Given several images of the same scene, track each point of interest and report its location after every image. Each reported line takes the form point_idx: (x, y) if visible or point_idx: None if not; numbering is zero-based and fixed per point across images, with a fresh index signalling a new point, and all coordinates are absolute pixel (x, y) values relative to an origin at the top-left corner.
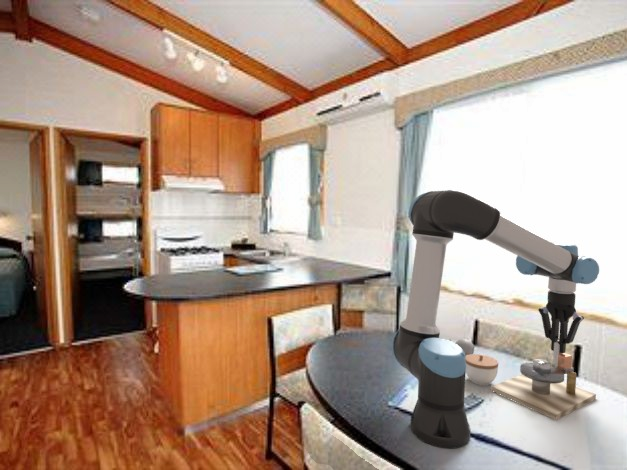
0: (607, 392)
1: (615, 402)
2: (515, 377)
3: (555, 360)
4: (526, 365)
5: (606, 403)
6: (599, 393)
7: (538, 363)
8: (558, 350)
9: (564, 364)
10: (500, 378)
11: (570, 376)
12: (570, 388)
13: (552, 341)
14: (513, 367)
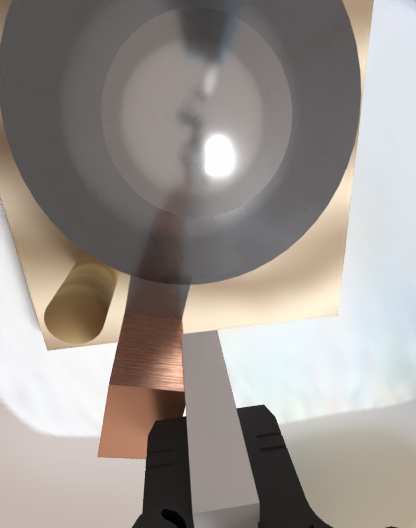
0: (80, 424)
1: (4, 376)
2: (351, 163)
3: (200, 340)
4: (322, 101)
5: (8, 338)
6: (85, 393)
7: (190, 16)
8: (187, 423)
9: (119, 337)
10: (405, 122)
11: (69, 286)
12: (84, 255)
13: (295, 510)
14: (412, 303)
